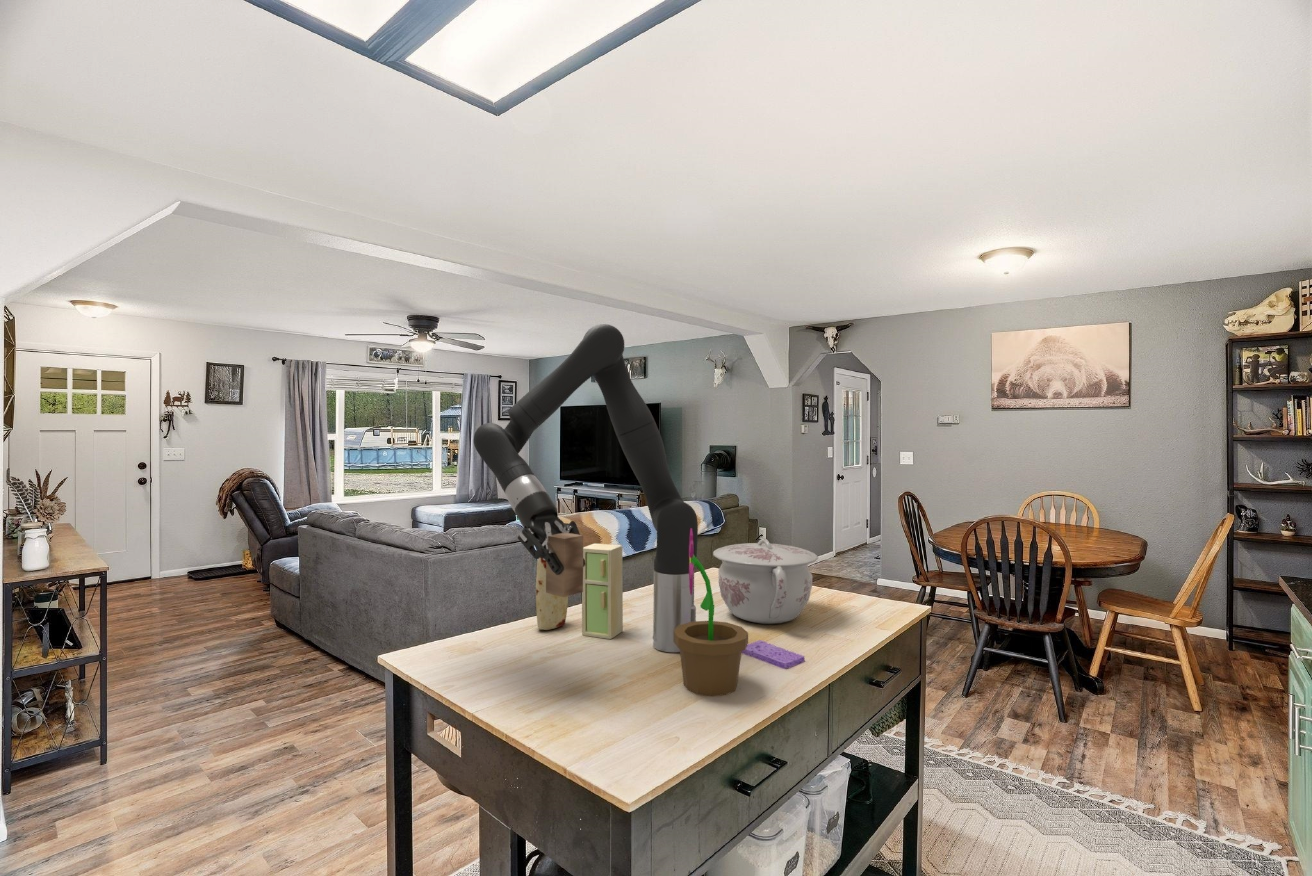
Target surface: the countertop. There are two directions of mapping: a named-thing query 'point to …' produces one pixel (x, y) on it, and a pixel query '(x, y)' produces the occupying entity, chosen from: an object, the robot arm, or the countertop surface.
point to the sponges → (773, 654)
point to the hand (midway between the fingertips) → (571, 569)
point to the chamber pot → (765, 580)
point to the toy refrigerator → (602, 591)
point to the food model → (548, 602)
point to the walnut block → (566, 565)
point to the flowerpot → (709, 646)
